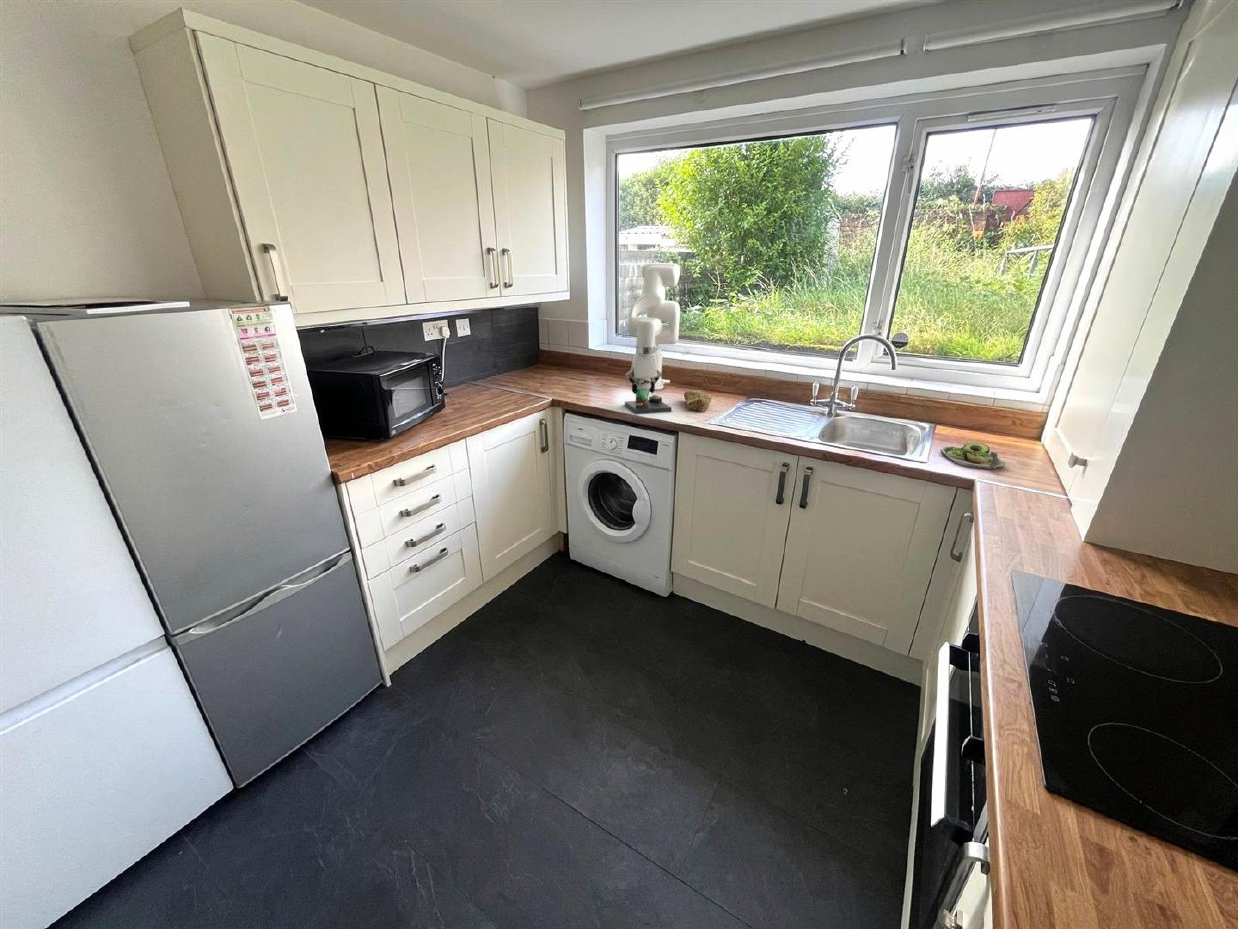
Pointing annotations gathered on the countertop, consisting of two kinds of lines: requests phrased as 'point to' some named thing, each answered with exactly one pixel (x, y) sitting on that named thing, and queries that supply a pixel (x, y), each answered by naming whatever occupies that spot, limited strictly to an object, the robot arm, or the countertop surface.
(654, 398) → the scale button
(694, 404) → the mossy rock
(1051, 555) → the countertop surface
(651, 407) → the scale
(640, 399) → the food container
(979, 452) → the salad plate
